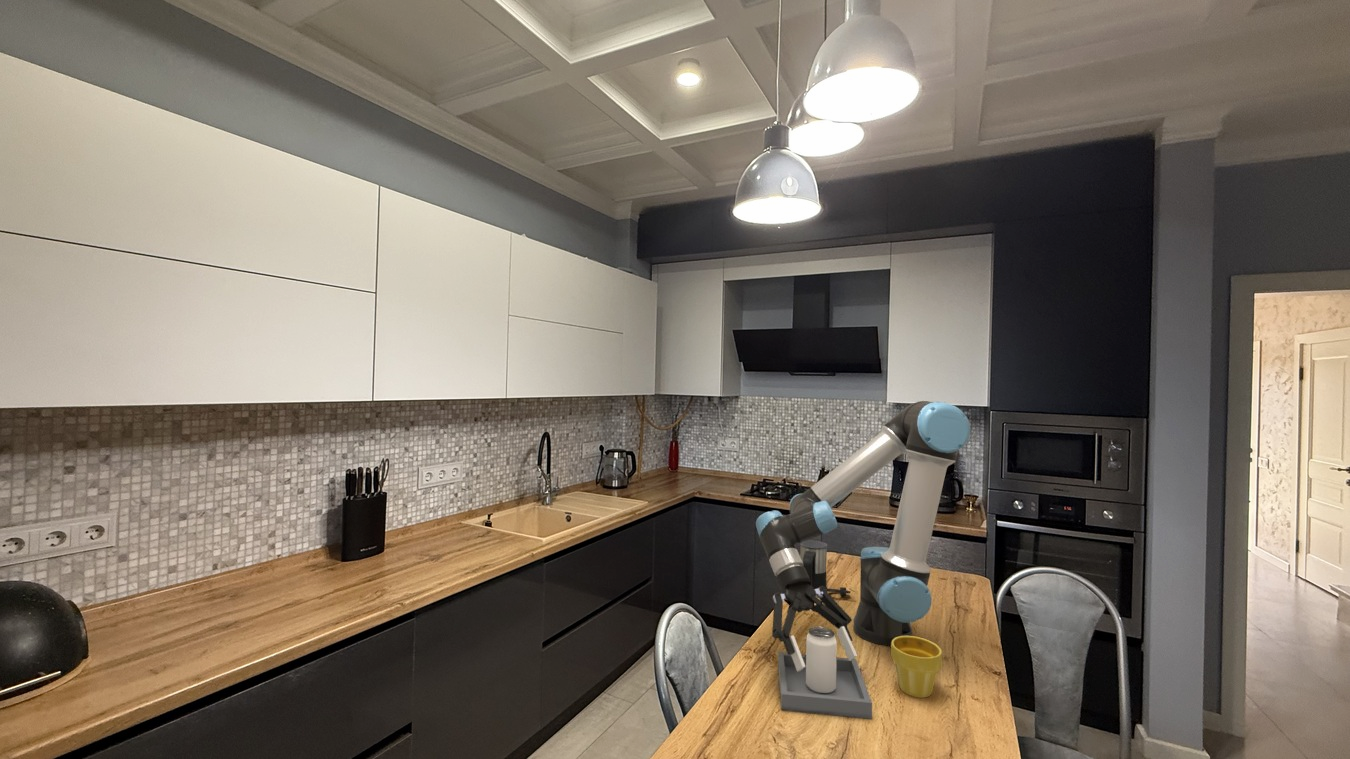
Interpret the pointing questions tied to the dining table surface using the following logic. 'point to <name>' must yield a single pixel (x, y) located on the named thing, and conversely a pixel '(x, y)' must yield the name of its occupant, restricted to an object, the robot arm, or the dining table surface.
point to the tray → (840, 702)
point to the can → (821, 660)
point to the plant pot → (916, 664)
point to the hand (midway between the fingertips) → (827, 663)
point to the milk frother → (817, 564)
